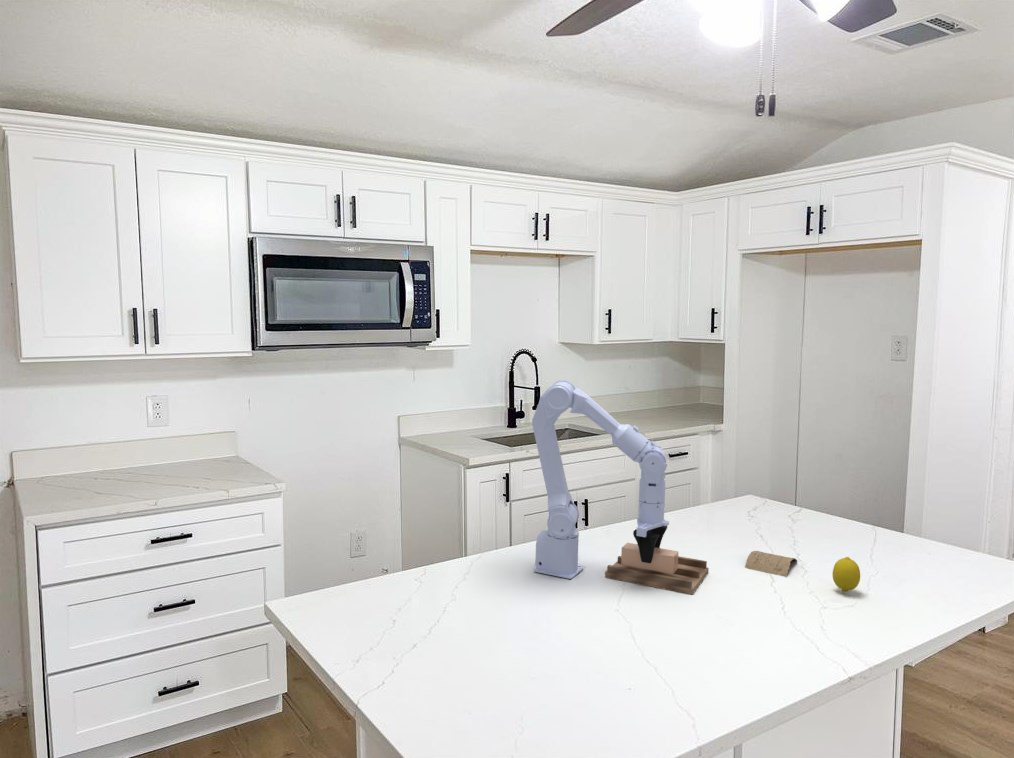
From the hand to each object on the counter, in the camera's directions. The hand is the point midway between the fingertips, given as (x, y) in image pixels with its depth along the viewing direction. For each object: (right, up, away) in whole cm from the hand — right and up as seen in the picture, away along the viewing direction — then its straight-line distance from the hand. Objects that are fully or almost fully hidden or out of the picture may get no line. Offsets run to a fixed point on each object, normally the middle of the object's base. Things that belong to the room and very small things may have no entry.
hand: (649, 559), depth 170 cm
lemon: (+42, -6, -5) cm, 43 cm away
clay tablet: (+32, -5, +12) cm, 34 cm away
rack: (+2, -4, +3) cm, 6 cm away
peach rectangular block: (0, -2, 0) cm, 2 cm away
